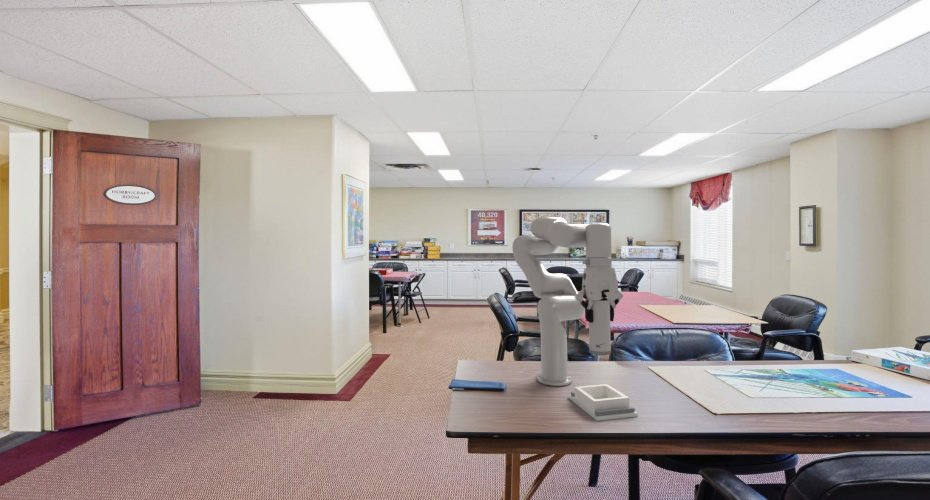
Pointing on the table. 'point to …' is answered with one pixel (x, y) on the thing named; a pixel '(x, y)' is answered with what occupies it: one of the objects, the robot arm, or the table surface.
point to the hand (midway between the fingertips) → (599, 320)
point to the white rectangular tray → (602, 402)
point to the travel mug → (600, 327)
